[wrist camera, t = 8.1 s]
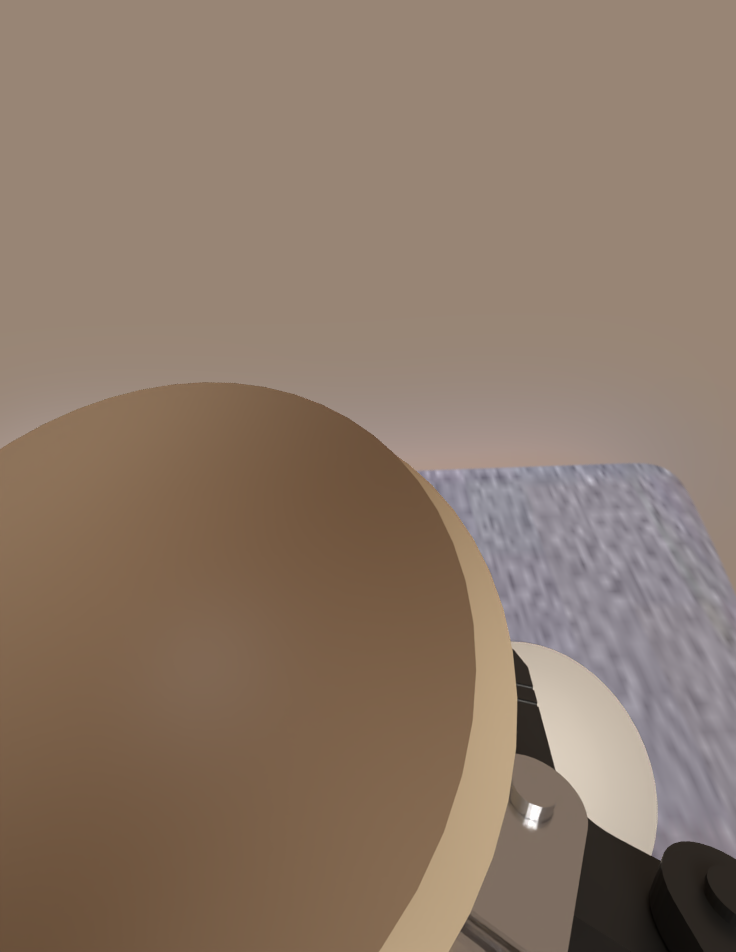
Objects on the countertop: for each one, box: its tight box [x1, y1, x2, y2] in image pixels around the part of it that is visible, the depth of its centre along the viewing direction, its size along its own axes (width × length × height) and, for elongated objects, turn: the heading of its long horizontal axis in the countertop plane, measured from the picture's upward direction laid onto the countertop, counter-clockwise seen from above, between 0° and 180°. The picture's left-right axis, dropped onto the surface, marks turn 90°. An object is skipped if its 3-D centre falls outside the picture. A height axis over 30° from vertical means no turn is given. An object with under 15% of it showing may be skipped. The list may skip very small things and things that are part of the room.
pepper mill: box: [0, 382, 517, 952], centre depth 9 cm, size 5×5×14 cm
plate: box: [511, 642, 657, 856], centre depth 27 cm, size 14×14×1 cm
